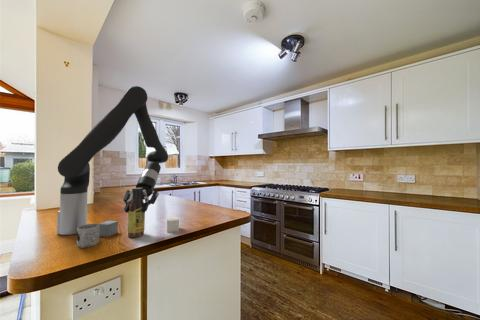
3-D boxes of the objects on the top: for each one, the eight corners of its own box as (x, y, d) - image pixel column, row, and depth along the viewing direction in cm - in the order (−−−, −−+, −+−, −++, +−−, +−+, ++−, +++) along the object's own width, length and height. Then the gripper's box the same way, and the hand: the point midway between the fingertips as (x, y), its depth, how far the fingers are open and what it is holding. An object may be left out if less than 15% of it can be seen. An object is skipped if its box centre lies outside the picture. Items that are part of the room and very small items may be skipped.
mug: (80, 242, 75) (80, 224, 75) (101, 239, 78) (101, 222, 78) (70, 253, 66) (70, 233, 66) (94, 249, 69) (94, 230, 69)
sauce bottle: (137, 238, 78) (137, 189, 79) (123, 237, 80) (124, 188, 80) (147, 233, 85) (148, 187, 85) (135, 232, 86) (136, 187, 86)
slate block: (97, 235, 82) (98, 223, 82) (108, 231, 87) (108, 220, 87) (107, 236, 81) (107, 224, 81) (117, 232, 86) (117, 221, 86)
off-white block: (166, 232, 86) (167, 221, 86) (166, 228, 91) (166, 218, 91) (178, 231, 88) (178, 219, 88) (177, 227, 93) (178, 217, 93)
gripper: (129, 175, 90) (113, 206, 78) (161, 175, 90) (149, 206, 78) (135, 185, 95) (120, 216, 83) (164, 185, 96) (154, 216, 84)
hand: (134, 211), depth 81 cm, fingers closed on sauce bottle, 6 cm apart
